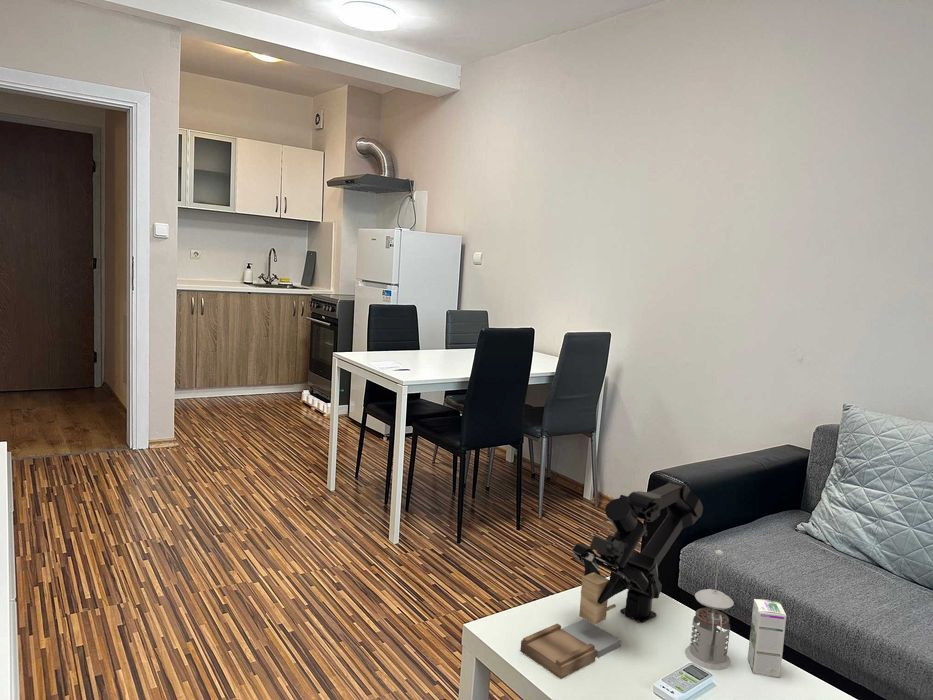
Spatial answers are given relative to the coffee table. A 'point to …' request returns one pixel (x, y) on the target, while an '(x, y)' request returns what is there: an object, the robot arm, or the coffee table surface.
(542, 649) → the walnut shelf lane
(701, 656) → the french press
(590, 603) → the oak mallet
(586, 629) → the grey rubber pad
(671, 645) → the coffee table surface
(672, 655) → the coffee table surface
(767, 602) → the syrup box
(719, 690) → the coffee table surface
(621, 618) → the coffee table surface
